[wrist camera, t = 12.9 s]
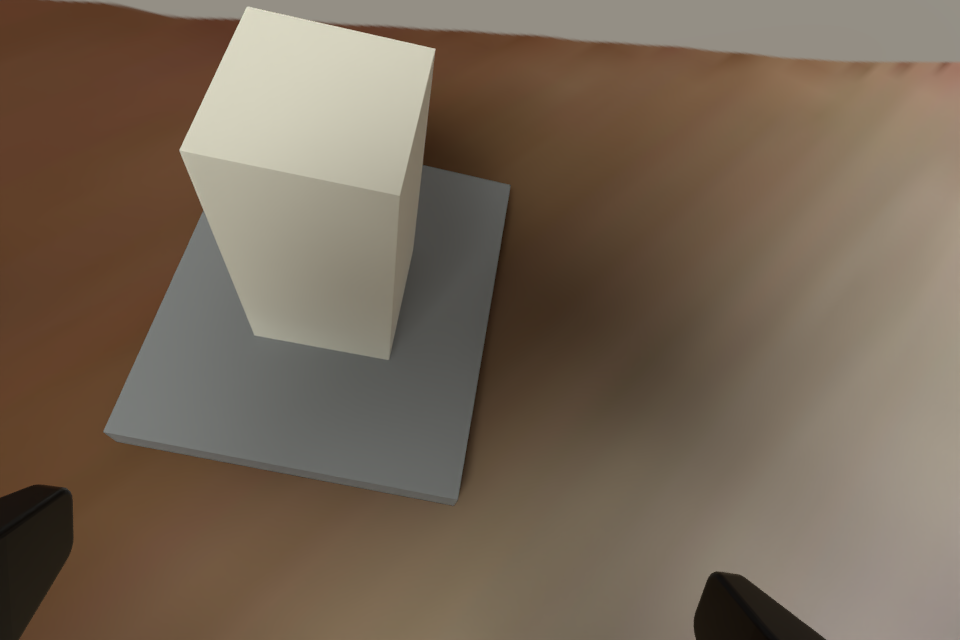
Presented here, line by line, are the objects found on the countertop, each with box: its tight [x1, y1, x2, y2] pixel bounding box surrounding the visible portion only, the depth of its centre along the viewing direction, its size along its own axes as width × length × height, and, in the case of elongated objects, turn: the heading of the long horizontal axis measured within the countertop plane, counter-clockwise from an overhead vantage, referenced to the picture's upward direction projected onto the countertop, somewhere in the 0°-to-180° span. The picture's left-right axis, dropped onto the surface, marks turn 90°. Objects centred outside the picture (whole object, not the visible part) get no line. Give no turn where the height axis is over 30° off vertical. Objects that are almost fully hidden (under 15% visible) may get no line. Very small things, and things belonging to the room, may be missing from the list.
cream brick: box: [179, 7, 435, 360], centre depth 20 cm, size 5×5×10 cm
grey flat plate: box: [103, 165, 511, 506], centre depth 25 cm, size 12×14×1 cm
